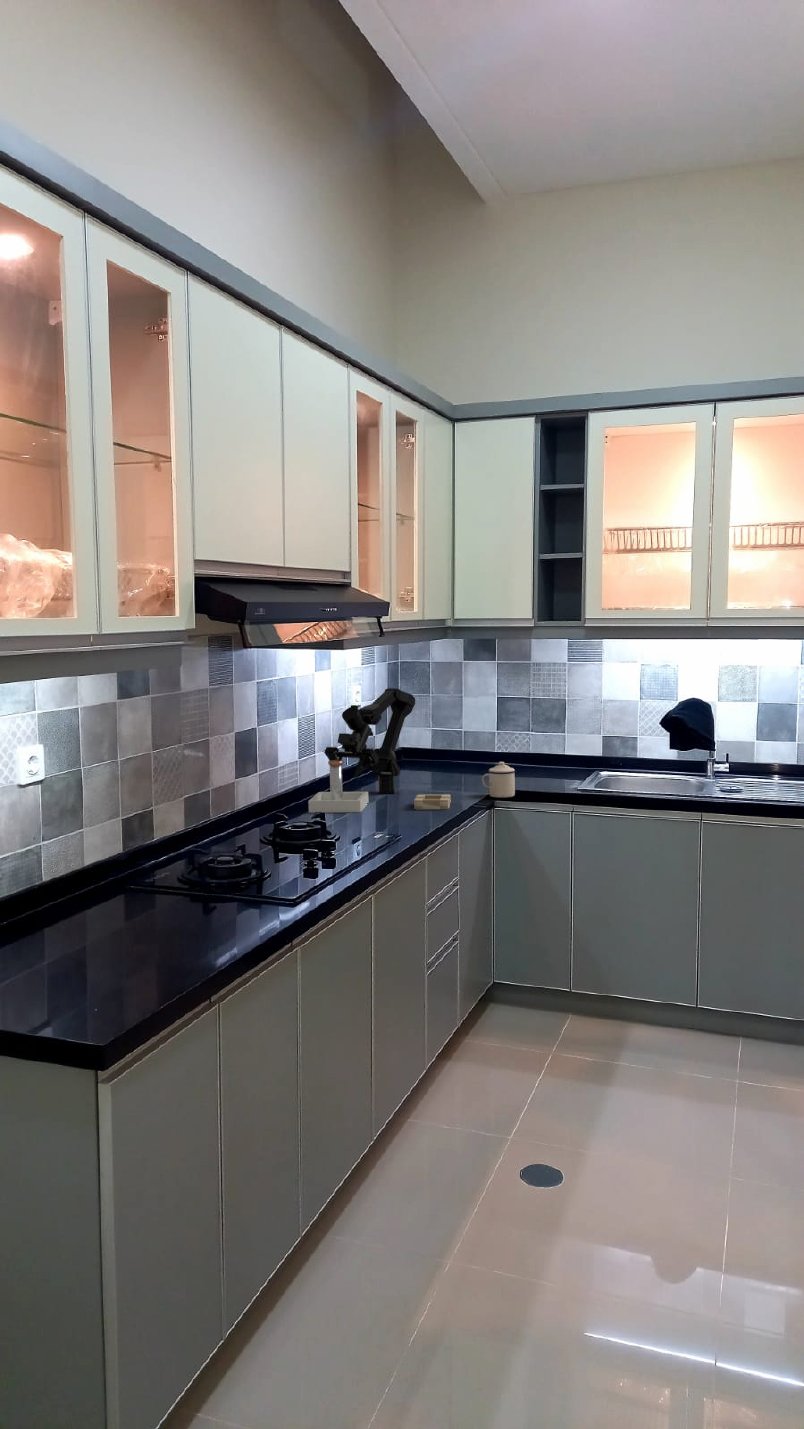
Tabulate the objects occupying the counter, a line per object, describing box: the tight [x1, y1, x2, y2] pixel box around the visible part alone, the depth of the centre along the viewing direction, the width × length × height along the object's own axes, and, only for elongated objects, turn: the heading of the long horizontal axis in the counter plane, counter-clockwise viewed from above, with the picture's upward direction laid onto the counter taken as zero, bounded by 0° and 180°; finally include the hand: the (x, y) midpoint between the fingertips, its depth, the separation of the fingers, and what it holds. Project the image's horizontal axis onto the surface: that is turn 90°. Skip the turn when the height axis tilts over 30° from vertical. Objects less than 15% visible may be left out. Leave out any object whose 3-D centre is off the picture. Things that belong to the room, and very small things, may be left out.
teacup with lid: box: [481, 761, 516, 799], centre depth 350 cm, size 12×9×12 cm
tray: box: [308, 791, 369, 813], centre depth 336 cm, size 17×17×4 cm
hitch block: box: [413, 793, 451, 811], centre depth 334 cm, size 11×11×3 cm
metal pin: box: [327, 759, 344, 800], centre depth 334 cm, size 5×5×15 cm
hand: (342, 775), depth 338 cm, fingers open, 9 cm apart
